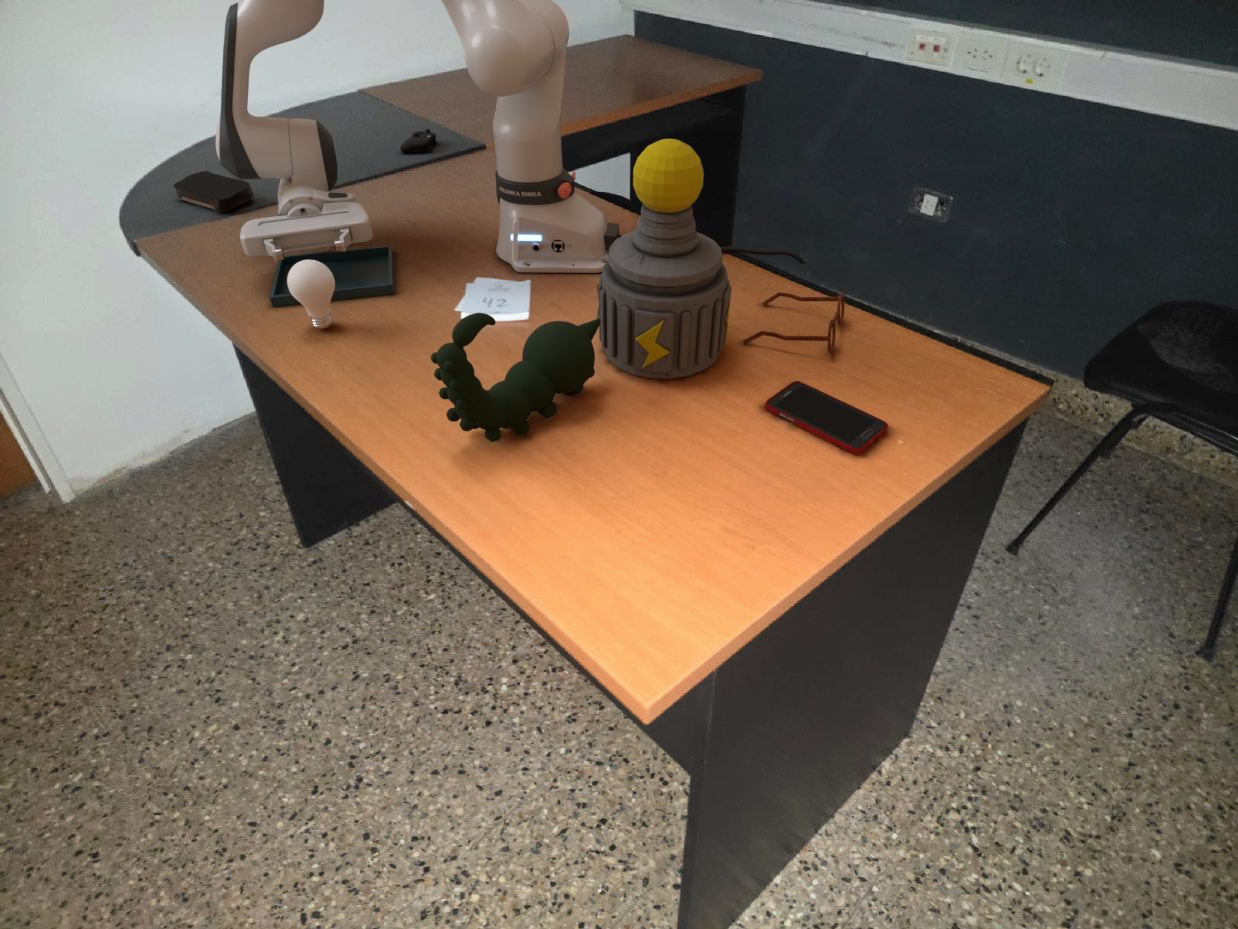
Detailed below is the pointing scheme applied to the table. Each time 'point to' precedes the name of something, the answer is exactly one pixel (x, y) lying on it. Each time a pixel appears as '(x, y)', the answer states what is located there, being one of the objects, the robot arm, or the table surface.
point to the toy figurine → (515, 375)
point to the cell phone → (827, 417)
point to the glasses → (807, 338)
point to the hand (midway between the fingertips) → (309, 251)
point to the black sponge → (213, 191)
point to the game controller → (419, 141)
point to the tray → (342, 273)
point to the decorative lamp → (664, 275)
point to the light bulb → (313, 290)
